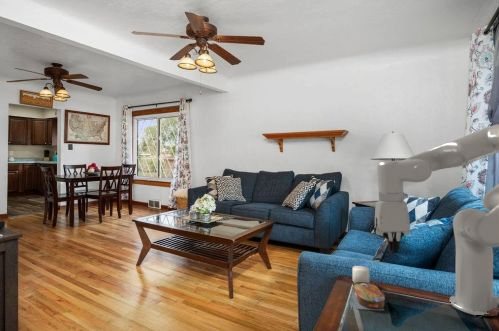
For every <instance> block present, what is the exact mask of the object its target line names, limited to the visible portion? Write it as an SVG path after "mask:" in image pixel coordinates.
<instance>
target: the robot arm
mask: <svg viewBox="0 0 499 331" xmlns="http://www.w3.org/2000/svg"><path fill="white" fill-rule="evenodd" d="M497 153H499V123H498V124H493V125H490V126H487V127H484V128H482V129H480V130H477V131H474V132H472V133H469V134H467V135H464V136H463V137H462V136H461V137H460V138H458V139H455V140H452V141H449V142H446V143H444V144H441V145H439V146H436V147H434V148H431V149H428V150H425V151H423V152H420V153H418V154H415V155H413V156H410V157H408V158H405V159H402V160H401V161H399V160H386V161H385V160H384V161H379V162H378V164H377V182H378V183H377V186H378V188H377V189H378V201H376V202H375V209H374V210H375V211H374V228H375V229H376V230H375V234H376V235H377V236H381V237H384V238H385V239H386V240H387V249H388V251H389V252H390V253H392V254H398V253H399V250H400V241H401V239H402V238H403V237H404V236H408V235H411V231H410V229H411V220H410V212H409V210H408V204H407V201H405V199H406V198H407V199H408V198H409V194H408V193H406V192H404V182H407V183H408V182H411V183H423V182H425V181H427V180H428V179H430V178H431V176H432V174H433V172H436V171H440V170H444V169H451V168H458V167H459V168H460V167H462V166H466V165H469V164H472V163H474V162H477V161H479V160H482V159H484V158H487V157H490V156H492V155H495V154H497ZM482 204H483V207H484V209H485V210H486V211H484V210H481V209H477V208H464V209H462V210H460V211H458V212H456V214H455V215H454V217H453V220H452V228H453V234H454V241H455V242H454V243H455V290H454V291H455V293H454V294H455V295H452V296H450V297H449V303H450V302H451V303H450V305H451V304H452V305H451V306H452V307H454V308H455V309H456V310H459V311H461V312H464V313H466V314H469V315H472V316H476V315H484V314H489V313H487V311H489V310H491V309H492V308H498V306H499V296H498V295H494V294H493V293H494V251H493V248H497V247H499V183H498V184H497V185H495V186H494V187H493V188H491V189H490V190H489V191H488V192H486V194H484V196H483V198H482ZM487 211H488V212H487Z"/></svg>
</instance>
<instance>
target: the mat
mask: <svg viewBox="0 0 499 331" xmlns="http://www.w3.org/2000/svg"><path fill="white" fill-rule="evenodd" d="M351 295H352V296H351ZM351 295H350V298H351V300H352V301H353V303H354V304H355V306H356V308H357V310H361V311H365V310H366V311H383V312H384V311H385V309H384V307H383V308H368V307H365V306H362V305H361V304H360V303H359V302H358V300H357V298H356V296H355V294H354V292H353V293H352V294H351Z"/></svg>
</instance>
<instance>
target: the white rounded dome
mask: <svg viewBox="0 0 499 331" xmlns="http://www.w3.org/2000/svg"><path fill="white" fill-rule="evenodd" d="M351 281H353V282H354V283H357V282H366V283H370V268H369V267H367V266H364V265H354V266H352V280H351Z"/></svg>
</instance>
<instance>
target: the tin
mask: <svg viewBox="0 0 499 331" xmlns="http://www.w3.org/2000/svg"><path fill="white" fill-rule="evenodd" d="M352 287H353V292H354V294H355V296H356V298H357V300H358V302H359V303H360V304H361V305H362V306H365V307H368V308H383V309H384V307H385V301H386V297H385V296H384V294H383V293H382V291H381V290H380V288H379V287H378V286H377V285H375V284H373V283H370V282H369V283H366V282H357V283H354V284H353V283H352Z"/></svg>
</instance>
